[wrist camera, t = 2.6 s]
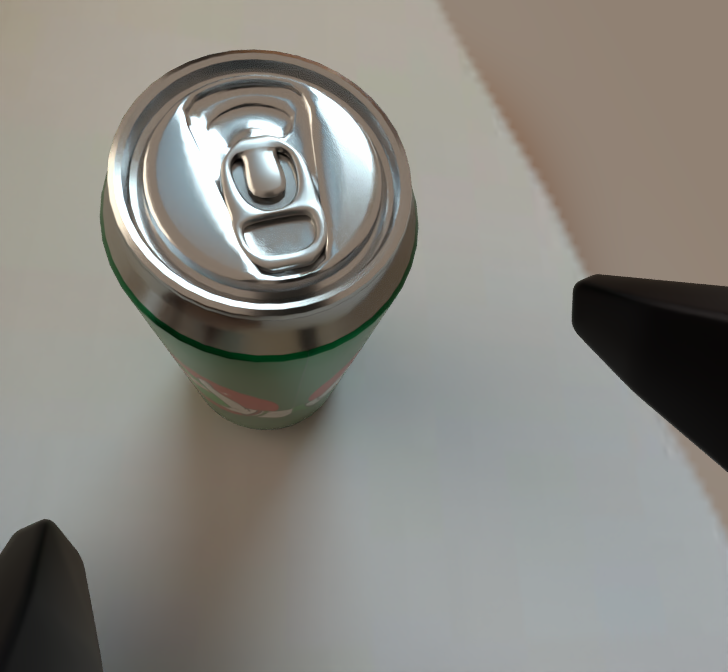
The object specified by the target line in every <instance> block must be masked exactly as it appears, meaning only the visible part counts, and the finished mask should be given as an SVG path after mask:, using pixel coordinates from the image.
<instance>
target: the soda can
mask: <svg viewBox="0 0 728 672" xmlns="http://www.w3.org/2000/svg"><path fill="white" fill-rule="evenodd" d="M100 224H101V232H102V241H103V244H104V247H105V251H106V254H107V257H108V260H109V264H110V266H111V268H112V270H113V272H114V274H115V276H116V278H117V280H118V281H119V283H120V285H121V287H122V289H123V290H124V291H125V293H126V294H127V295H128V297H129V298H130V299H131V301H132V302H133V303H134V305H135V306H136V308H137V309H138V310H139V312H140V313H141V314H142V316H143V317H144V318H145V320H146V321H147V322H148V324H149V325H150V327H151V328H152V329H153V331H154V332H155V333H156V335H157V336H158V337H159V339H160V340H161V341H162V343H163V344H164V346H165V347H166V348H167V350H168V351H169V352H170V354H171V355H172V356H173V358H174V359H175V360H176V362H177V363H178V364H179V366H180V367H181V369H182V370H183V371H184V373H185V374H186V375H187V377H188V378H189V379H190V381H191V382H192V383H193V385H194V386H195V388H196V389H197V390H198V392H199V393H200V394H201V396H202V397H203V398H204V400H205V401H206V402H207V404H208V405H209V406H210V407H211V408H212V409H213V410H214V411H216V412H217V413H218V414H219V415H221V416H222V417H224V418H225V419H227V420H229V421H231V422H233V423H235V424H237V425H240V426H244V427H247V428H252V429H261V430H267V429H278V428H283V427H287V426H290V425H293V424H295V423H298V422H300V421H302V420H304V419H305V418H307V417H309V416H310V415H311V414H313V413H314V412H315V411H316V410H318V409H319V408H320V406H321V405H322V404H323V403H324V402H325V401H326V400H327V398H328V397H329V395H330V394H331V392H332V391H333V389H334V388H335V386H336V385H337V383H338V382H339V381H340V379H341V378H342V376H343V375H344V373H345V372H346V370H347V369H348V367H349V366H350V364H351V363H352V361H353V360H354V358H355V357H356V355H357V354H358V353H359V351H360V350H361V348H362V347H363V345H364V344H365V342H366V341H367V339H368V338H369V336H370V335H371V333H372V332H373V330H374V329H375V327H376V326H377V325H378V323H379V322H380V320H381V319H382V317H383V316H384V314H385V313H386V311H387V310H388V308H389V307H390V305H391V304H392V302H393V301H394V299H395V298H396V296H397V295H398V293H399V292H400V290H401V289H402V287H403V285H404V283H405V280H406V278H407V276H408V274H409V271H410V269H411V267H412V263H413V259H414V255H415V251H416V247H417V235H418V216H417V206H416V200H415V197H414V193H413V189H412V185H411V175H410V168H409V164H408V160H407V156H406V152H405V149H404V147H403V145H402V142H401V140H400V138H399V136H398V133H397V131H396V130H395V128H394V127H393V125H392V123H391V122H390V120H389V119H388V117H387V116H386V114H385V113H384V112H383V111H382V109H381V108H380V107H379V106H378V105H377V104H376V103H375V101H374V100H373V99H372V98H371V97H370V96H369V95H367V94H366V93H365V92H364V91H363V90H362V89H361V88H359V87H358V86H357V85H356V84H355V83H353V82H352V81H350V80H349V79H347V78H346V77H344V76H343V75H341V74H340V73H338V72H336V71H334V70H332V69H330V68H328V67H326V66H324V65H322V64H320V63H317V62H314V61H311V60H309V59H306V58H303V57H300V56H296V55H292V54H287V53H282V52H277V51H266V50H235V51H227V52H222V53H216V54H211V55H207V56H204V57H201V58H198V59H195V60H192V61H189V62H187V63H185V64H183V65H181V66H179V67H177V68H175V69H173V70H171V71H169V72H168V73H166V74H165V75H163V76H162V77H161V78H159V79H158V80H156V81H155V82H154V83H152V84H151V85H150V86H149V87H148V88H147V89H146V90H145V91H144V92H143V93H142V94H141V95H140V96H139V97H138V98H137V99H136V100H135V101H134V103H133V104H132V106H131V107H130V108H129V110H128V111H127V113H126V114H125V115H124V117H123V119H122V121H121V123H120V125H119V127H118V129H117V132H116V134H115V136H114V139H113V143H112V147H111V151H110V155H109V162H108V171H107V175H106V178H105V182H104V186H103V190H102V194H101V207H100Z"/></svg>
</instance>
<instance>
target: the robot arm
mask: <svg viewBox="0 0 728 672" xmlns="http://www.w3.org/2000/svg"><path fill="white" fill-rule="evenodd" d="M572 325H573V327H574V330H575V331H576V333H577V334H578V335H579V336H580V337H581V338H582V339H583V340H584V342H585V343H586V344H587V345H588V346H589V347H590V348H591V349H592V350H593V351H594V352H595V353H596V354H597V355H598V356H599V357H600V358H601V359H602V360H603V361H604V362H605V363H606V364H607V365H608V366H609V367H610V368H611V369H612V371H613V372H614V373H615V374H616V375H617V376H618V377H619V378H620V379H621V380H622V381H623V382H624V383H625V384H626V385H627V386H628V387H629V388H630V389H631V390H632V391H633V392H634V393H636V394H637V395H638V396H639V397H640V398H641V399H642V400H643V401H645V402H646V403H647V404H648V405H649V406H650V407H652V408H653V409H654V410H655V411H656V412H658V413H659V414H660V415H661V416H662V417H663V418H665V419H666V420H667V421H668V422H669V423H670V424H672V425H673V426H674V427H675V428H676V429H678V430H679V431H680V432H681V433H682V434H683V435H685V436H686V437H687V438H688V439H689V440H690V441H692V442H693V443H694V444H695V445H696V446H698V447H699V448H700V449H701V450H702V451H704V452H705V453H706V454H707V455H708V456H709V457H710V458H712V459H713V460H714V461H715V462H716V463H718V464H719V465H720V466H721V467H722V468H723V469H725V470H726V471H727V472H728V287H725V286H715V285H706V284H694V283H685V282H674V281H663V280H652V279H642V278H632V277H621V276H611V275H600V274H596V275H592V276H590V277H587V278H585V279H583V280H581V281H579V282H577V283H576V284H575V286H574V288H573V301H572ZM0 672H103V667H102V661H101V655H100V649H99V643H98V638H97V633H96V627H95V622H94V616H93V611H92V605H91V600H90V594H89V589H88V584H87V578H86V573H85V568H84V564H83V561H82V559H81V557H80V555H79V553H78V552H77V550H76V549H75V548H74V547H73V545H72V544H71V543H70V542H69V540H68V539H67V538H66V537H65V535H64V534H63V533H62V532H61V530H60V529H59V528H58V527H57V525H56V524H55V523H54V522H52V521H51V520H48V519H43V520H40V521H38V522H36V523H34V524H31V525H29V526H27V527H25V528H22V529H20V530H19V531H17V532H16V533H14V535H13V536H12V537H11V539H10V540H9V542H8V543H7V545H6V546H5V548H4V549H3V551H2V552H1V554H0Z"/></svg>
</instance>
